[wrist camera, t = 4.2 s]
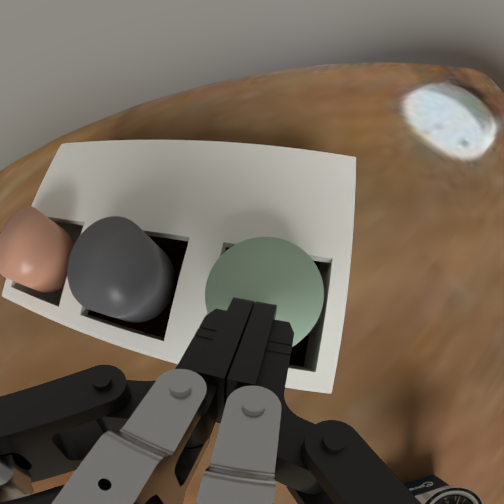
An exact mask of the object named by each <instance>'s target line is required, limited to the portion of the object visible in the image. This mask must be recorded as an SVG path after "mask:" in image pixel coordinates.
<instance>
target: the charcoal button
mask: <svg viewBox="0 0 504 504" xmlns="http://www.w3.org/2000/svg"><path fill="white" fill-rule="evenodd" d="M67 277H68V283H69V287H70V290H71V292H72V294H73V296H74V298H75V299H76V300H77V301H78V302H79V303H80V304H81V305H82V306H84V307H85V308H87V309H89V310H92V311H95V312H98V313H101V314H104V315H107V316H111V317H114V318H117V319H120V320H124V321H127V322H132V323H142V322H146V321H149V320H151V319H153V318H155V317H156V316H158V315H159V314H160V313H161V312H162V311H163V310H164V309H165V308H166V307H167V305H168V304H169V302H170V300H171V298H172V296H173V293H174V289H175V281H176V277H175V270H174V266H173V263H172V261H171V259H170V258H169V256H168V255H167V254H166V253H165V252H164V251H163V250H162V249H161V248H160V247H159V246H158V245H157V244H156V243H155V242H154V241H153V240H152V239H151V238H150V237H149V236H148V235H147V234H146V233H145V232H144V231H143V230H142V229H141V228H140V227H139V226H138V225H136V224H135V223H134V222H133V221H131V220H129V219H127V218H124V217H120V216H112V217H106V218H103V219H100V220H98V221H96V222H94V223H93V224H92V225H90V226H89V227H88V228H87V229H85V231H84V232H83V233H82V234H81V235H80V236H79V238H78V239H77V241H76V242H75V244H74V246H73V248H72V251H71V253H70V257H69V261H68V268H67Z"/></svg>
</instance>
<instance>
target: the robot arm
mask: <svg viewBox="0 0 504 504" xmlns="http://www.w3.org/2000/svg"><path fill="white" fill-rule="evenodd" d="M276 311H277V305H275V304H269V303H263V302H258V301H256V302H255V301H252V300H246V299H241V298H235V297H233V299H232V301H231V303H230V305H229V307H228V309H227V311H226V310H221V309H215V310H213V311H212V312H210V313H209V314H208V315H206V316H205V317H204V319H203V321H202V323H201V324H200V326H199V329H198V330H197V331H196V333H195V336H194V337H193V339H192V340H191V342H190V344H189V346H188V348H187V349H186V351H185V353H184V355H183V356H182V358H181V360H180V362H179V364H178V365H177V367H176V369H174V370H170V371H167V372H165V373H164V374H162V375H161V376H160V377H159V378H158V379H157V380H156V381H132V380H126V378H125V375H124V374H123V372H122V371H121V370H120V369H118V368H116V367H114V366H111V365H98V366H95V367H92V368H89V369H86V370H83V371H80V372H77V373H74V374H71V375H68V376H65V377H62V378H59V379H56V380H53V381H50V382H47V383H44V384H41V385H38V386H34V387H31V388H28V389H25V390H21V391H18V392H15V393H11V394H8V395H5V396H1V397H0V504H183V501H184V496H185V491H186V489H187V486H188V484H189V482H190V480H191V478H192V476H193V474H194V472H195V470H196V468H197V466H198V464H199V462H200V460H201V458H202V456H203V454H204V452H205V450H206V448H207V446H208V444H209V441H210V435H211V433H212V430H213V427H214V425H215V422H217V423H221V424H220V428H219V432H218V436H217V439H216V443H215V447H214V451H213V455H212V459H211V462H210V465H209V467H208V468H207V469H206V471H205V473H204V475H203V478H202V482H201V485H200V489H199V492H198V496H197V500H196V503H195V504H274V496H275V485H276V481H278V482H280V483H282V484H284V485H286V486H287V488H288V490H289V491H290V493H291V494H292V496H293V497H294V499H295V500H296V502H297V503H298V504H422V503H421V502H420V501H419V500H418V499H417V498H416V497H415V496H414V495H413V494H412V493H411V492H410V491H409V490H408V489H407V487H406V486H405V485H404V484H403V483H402V482H401V481H400V480H399V479H398V478H397V477H396V475H395V474H394V473H393V472H392V471H391V470H390V469H389V468H388V467H387V466H386V464H385V463H384V462H383V461H382V460H381V459H380V458H379V457H378V456H377V454H376V453H375V452H374V451H373V450H372V449H371V448H370V447H369V445H368V444H367V443H366V442H365V441H364V440H363V439H362V437H361V436H360V435H359V434H358V433H357V432H356V431H355V430H354V429H353V428H352V427H351V426H350V425H348V424H346V423H344V422H341V421H336V420H328V421H322V422H320V423H317V424H313V423H311V422H309V421H307V420H304V419H302V418H300V417H298V416H297V415H295V414H294V413H293V412H292V411H291V410H290V409H289V408H288V407H287V405H286V403H285V399H284V390H285V384H286V379H287V373H288V368H289V362H290V356H291V350H292V344H293V338H294V331H293V329H292V327H291V324H290V322H286V321H280V320H275V318H276ZM73 470H76V471H75V472H74V473H73V475H72V476H71V478H70V479H69V480H68V482H67V483H66V484H65V485H62V486H58V487H55V488H52V489H49V490H45V491H42V492H39V493H35V494H33V487H32V485H31V483H32V482H36V481H39V480H43V479H47V478H50V477H54V476H57V475H61V474H64V473H67V472H70V471H73ZM24 496H25V497H24Z"/></svg>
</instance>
